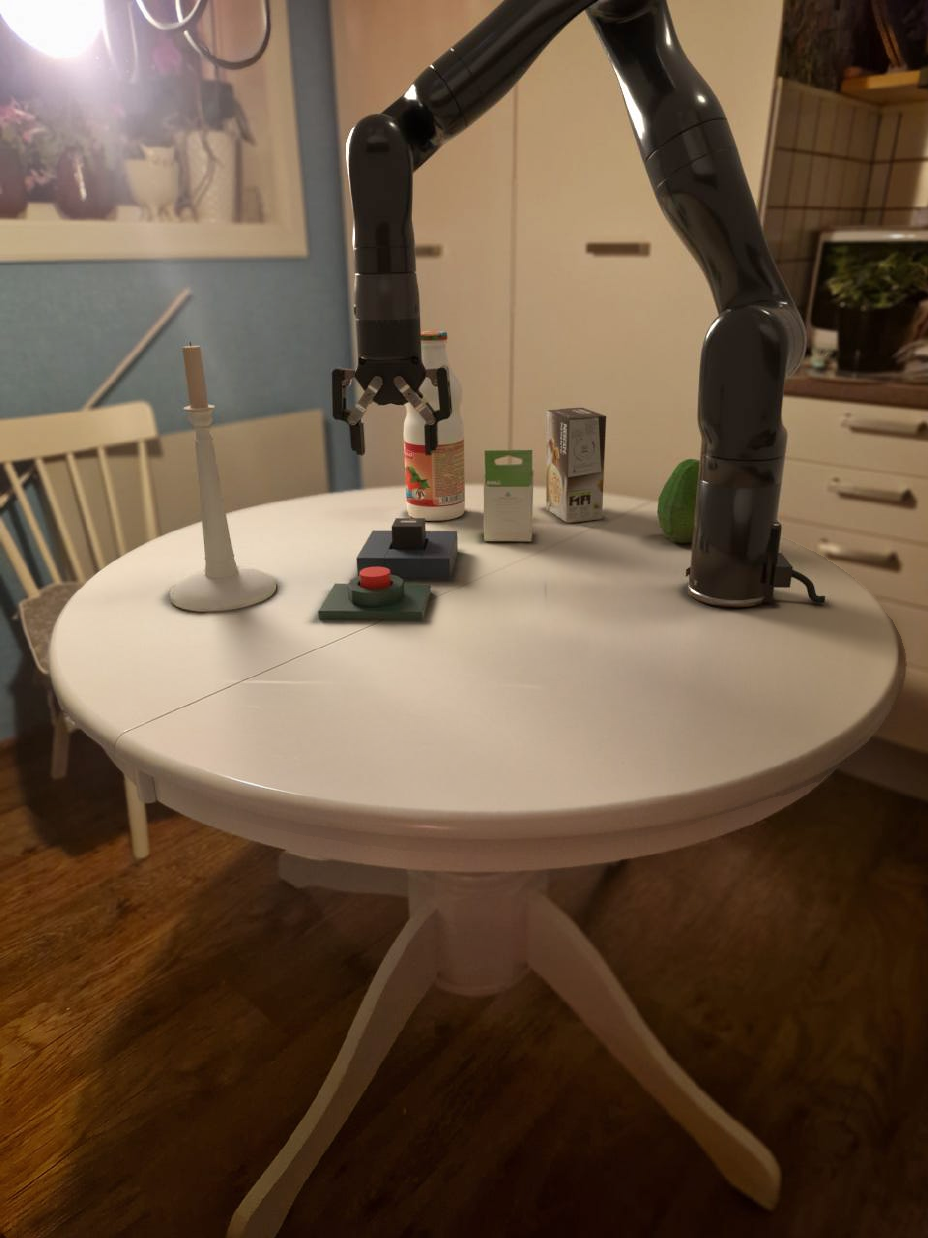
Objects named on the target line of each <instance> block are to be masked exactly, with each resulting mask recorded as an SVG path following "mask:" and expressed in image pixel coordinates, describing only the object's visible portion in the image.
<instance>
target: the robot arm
mask: <svg viewBox="0 0 928 1238" xmlns="http://www.w3.org/2000/svg"><path fill="white" fill-rule="evenodd" d="M584 11H585V14H586V16H587V18H588V20H589V22H590V24H591V26H592V28H593V30H594V32H595V34H596V36H597V38H598V40H599V42H600V44H601V46H602V48H603V51H604V53H605V54H606V56H607V59H608V61H609V63H610V65H611V67H612V69H613V72H614V75H615V76H616V80H617V82H618V85H619V88H620V93H621V95H622V99H623V103H624V106H625V111H626V114H627V117H628V120H629V123H630V127H631V130H632V132H633V136H634V139H635V142H636V146H637V149H638V151H639V155H640V158H641V161H642V163H643V164H642V165H643V167H644V170H645V173H646V175H647V178H648V181H649V183H650V186H651V189H652V192H653V194H654V197H655V200H656V202H657V204H658V206H659V208H660V211H661V212H662V215H663V216H664V218H665V220H666V221H667V223H668V225H669V226H670V227H671V229H672V230H673V232H674V233H675V236H677V238H678V240H679V241H680V242H681V243H682V245H683V246H684V247H685V249H686V251H688V253H689V254H690V255H691V257H692V258H693V260H694V261H695V263H696V265H698V267H699V269H700V271H701V272H702V274H703V276H704V278H705V280H706V283H707V285H708V287H709V290H710V292H711V295H712V298H713V302H714V305H715V307H716V311H717V316H716V317H715V318H714V320H713V321H712V322H711V323H710V325H709V327H708V328H707V331H706V333H705V335H704V337H703V338H704V339H703V342H702V347H701V350H700V360H699V371H698V372H699V373H698V392H697V411H696V412H697V415H696V417H697V418H696V419H697V426H698V431H699V433H700V453H699V455H700V456H699V460H700V464H699V475H698V486H697V497H696V508H695V519H694V530H693V542H691V554H690V565H689V567H687V568H685V577H688V581H687V589H686V591H687V593H688V595H689V596H690V597H691V598H693V599H695V600H697V601H699V602H702V603H704V604H707V605H712V606H716V607H723V608H724V607H725V608H748V607H753V606H758V605H761V604H772V603H773V598H774V590H775V589H776V588H777V589H780V588H781V589H788V588H791V583H792V579H795V580H796V581H799V582H800V583H802V584H803V585H804V586H805V587H806V591H807V595H808V597H809V599H810V601H812V602H813V603H816V604H825V602H826V595H817V593H816V587H815V585H814V583H813V582H812V580H811V579H810V578H809V577H807V576H806V575H805V574H804V573H801V572H799V571H797V570H795V569H794V566H793V565H792V564H791V562H790V561H789V560H788V559H787V557H785V555H784V554H783V553H782V552H780V547H781V546H780V545H781V537H782V529H783V527H782V524H781V523H780V522H779V520H778V517H779V516H778V515H779V508H780V501H781V491H782V485H783V477H784V468H785V461H786V454H787V453H786V452H787V445H788V438H789V437H788V436H789V435H788V430H787V428H786V427H785V426H784V422H783V403H784V402H783V401H784V393H785V392H784V391H785V383H786V381H787V380H788V379H790V378H791V377H792V376H793V375H794V374H795V373H796V372H797V371H798V370H799V368H800V366H801V364H802V363H803V360H804V358H805V355H806V352H807V343H808V337H807V336H808V335H807V330H806V326H805V323H804V321H803V318H802V315H801V313H800V312H799V310H798V308H797V307H798V306H797V305H796V303H795V301H794V300H793V297H792V296H791V293H790V291H789V290H788V288H787V285H786V283H785V281H784V279H783V277H782V275H781V273H780V271H779V268H778V266H777V264H776V262H775V260H774V257H773V255H772V253H771V250H770V248H769V245H768V243H767V239H766V236H765V233H764V230H763V226H762V223H761V218H760V216H759V212H758V208H757V205H756V202H755V199H754V196H753V192H752V189H751V187H750V184H749V181H748V179H747V174H746V173H745V170H744V169H745V168H744V165H743V162H742V159H741V155H740V152H739V149H738V146H737V144H736V140H735V137H734V135H733V132H732V128H731V126H730V123H729V121H728V117H727V116H726V112H725V111H724V109H723V106H722V104H721V101H720V100H719V98H718V97H717V95H716V94H715V92H714V91H713V88H712V87H711V86H710V85H709V83H708V82H707V81H706V79H705V78H704V77H703V75H702V74H701V73H700V72H699V71H698V70H697V68H696V66H694V64H693V63H692V61H691V60H690V59H689V58H688V56H687V54H686V52H685V50H684V49H683V47H682V44H681V43H680V40H679V37H678V35H677V31H676V28H675V26H674V22H673V18H672V15H671V11H670V9H669V4H668V0H502V1H501V2H500V3H499V4H498V5H497V6H496V7H495V8H494V9H493V10H492V11H491V12H489V14H487V15H486V16H485V17H484V18H483V19H481V21H480V22H478V23H477V24H476V25H475V26H474V27H473V28H472V29H471V30H469V32H467V34H465V35H464V36H463V37H461V38H460V39H459V40H458V41H457V42H456V43H455V44H453V45H452V46H451V47H449V49H447V50H446V51H444V53H443V54H441V55H440V56H438V58H436V59H435V60H434V61H433V62H432V63H431V64H429V66H427V67H426V68H425V69H424V70H423V71H422V72H421V73H419V74H418V75H417V77H416V78H415V79H414V80H413V82H412V83H411V84H410V86H409V88H408V89H407V90H406V91H405V93H403V94H402V95H401V96H400V97H399V98H398V99H396V100H395V101H394V102H392V103H391V104H390V105H389V106H387V107H386V108H385V109H384V110H382V111H381V112H380V113H373V114H369V115H366V116H363V117H362V118H361V119H359V120H358V121H357V122H356V123H355V124H354V126H353V127H352V128H351V130H350V132H349V134H348V137H347V141H346V145H345V147H346V148H345V150H346V151H345V152H346V153H345V154H346V155H345V156H346V167H347V175H348V185H349V193H350V201H351V203H350V204H351V209H352V217H353V218H352V220H353V224H352V225H353V226H352V253H353V271H354V286H353V287H354V288H353V303H354V304H353V314H354V318H355V319H354V320H355V321H354V322H355V335H356V336H355V337H356V349H357V351H356V353H357V366H356V368H346V367H344V366H337V367H336V368H334V369H333V370H332V372H331V401H332V402H331V403H332V417H333V419H334V420H336V421H343V422H345V423H346V424H347V425H348V426H349V427H348V428H349V439H350V441H349V442H350V448H351V450H352V452H355V455H356V457H363V456H364V455H365V454H366V441H365V426H364V422H362V418H363V417H364V416H365V414H366V413H367V411H368V409H369V408H370V407H371V405H372V404H373V403H374V404H376V405H377V406H387V405H390V404H392V405H395V406H405V404H406V403H408V402H409V403H410V404H411V405H412V406H413V408H414V409H415V410H416V411H417V412H418V413H419V414H420V415H421V416H422V418H423V419H424V420H425V421H426V424H425V425H424V431H425V455H432V454H433V451H435V450H436V449H437V446H438V422H439V421H441V420H444V419H448V418H449V417H450V415H451V414H452V401H451V390H450V378H449V369H448V367H447V366H445V365H442V366H441V367H439V368H427V369H425V367H424V365H423V362H422V352H421V331H422V330H421V329H422V328H421V327H422V326H421V304H420V303H421V302H420V301H421V299H420V289H419V284H418V283H419V282H418V277H417V273H416V272H417V254H416V252H417V251H416V238H415V232H414V231H415V230H414V223H413V199H414V198H413V197H414V195H413V194H414V193H413V192H414V174H415V172H417V171H418V170H419V169H420V168H421V167H422V166H424V164H425V163H426V162H427V161H429V159H431V158H432V157H433V156H434V155H435V154H436V153H437V152H438V151H439V150H440V149H441V148H442V147H443V146H444V145H445V144H447V143H449V142H450V141H452V140H453V139H454V138H457V137H458V136H459V135H461V134H462V133H463V132H465V131H466V130H467V129H469V128H470V127H471V126H472V125H473V124H475V123H476V122H477V121H478V120H480V119H481V118H482V117H483V116H485V114H487V113H488V112H489V111H490V110H492V109H493V108H494V107H495V106H496V105H497V104H498V103H500V102H501V101H502V100H503V98H505V97H506V96H507V95H508V94H509V93H510V91H512V89H514V87H515V86H516V85H517V84H518V83H519V81H520V80H521V79H522V78H523V77H524V75H525V74H526V73H527V72H528V70H529V69H530V68H531V67H532V65H533V64H534V63H535V62H536V61H537V60H538V58H539V57H540V56H541V54H542V53H543V52H544V51H545V49H546V48H547V47H548V46H549V45H550V44H551V43H552V42H553V40H554V39H556V37H557V36H558V35H559V34H560V33H561V32H562V31H563V30H564V29H565V28H566V27H567V26H569V24H571V22H573V21H574V20H575V19H576V18H578V16H580V15H581V14H582V13H583V12H584ZM426 377H427V378H429V379H430V380H431V383H432V385H433V386H436V387H438V396H439V407H440V409H438V410H434V409H433V408H432V407H431V405H430V404H429V403H428V401H427V399H426V398H425V396H424V395H423V394H422V392H421V391H420V390H419V388H420V386H421V385H422V383H423V382H424V380H425V378H426ZM353 379H355V380H356V382H357V383H358V385H360V387H361V388H362V390H363V391H364V392H363V393H362V395H361V396H360V398H359V400H358V401H357V403H356V404H355V406H354V408H352V410H350V409H348V407H347V406H348V404H347V402H348V401H347V400H348V399H347V396H348V395H347V394H348V393H347V388H348V387H350V386H351V385H352V381H353ZM413 399H414V400H413Z"/></svg>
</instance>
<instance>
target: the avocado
mask: <svg viewBox="0 0 928 1238" xmlns="http://www.w3.org/2000/svg"><path fill="white" fill-rule="evenodd" d="M699 464H700V459H696V458H688V459H684V460H682V461H681V462H679V463H678V464H677V465H676V467H675V468H674V469H673V471H672V473H671V474H670V476H669V478H668V479H667V480H666V482H665V484H664V486H663V488H662V490H661V492H660V495H659V497H658V501H657V502H658V503H657V509H656V510H657V511H656V514H657V518H658V522H659V527H660V529H661V531H662V533H663V534H664V535H665V537H666V538H667V539H669V541H672V542H674V543H678V544H682V545H683V544H690V543H691V544H692V542H693V530H694V519H695V508H696V497H697V486H698V475H699Z"/></svg>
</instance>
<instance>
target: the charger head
mask: <svg viewBox="0 0 928 1238" xmlns="http://www.w3.org/2000/svg"><path fill="white" fill-rule="evenodd" d="M391 531H392V546H393V549H406V550H425V548H426V531H427V530H426V520H425V518H412V517H395V519H394V521H393V523H392V525H391Z"/></svg>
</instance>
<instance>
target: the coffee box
mask: <svg viewBox="0 0 928 1238" xmlns="http://www.w3.org/2000/svg"><path fill="white" fill-rule="evenodd" d="M606 432H607V415H604V414H602V413H599V412H596V411H593V410H590V409H587V408H584V407H569V408H559V409H547V410H546V490H545V491H546V493H545V495H546V496H545V498H546V499H545V508H546V509H545V510H546V511H548V512H549V513H551V514H553V515H554V516H556V517H557V518H559V519H560V520H562V521H563V522H564V523H567V524H570V523H571V524H572V523H579V522H588V521H598V520H602V519H603V508H604V507H603V506H604V505H603V504H604V484H605V483H604V480H605V457H606V455H605V454H606Z"/></svg>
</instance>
